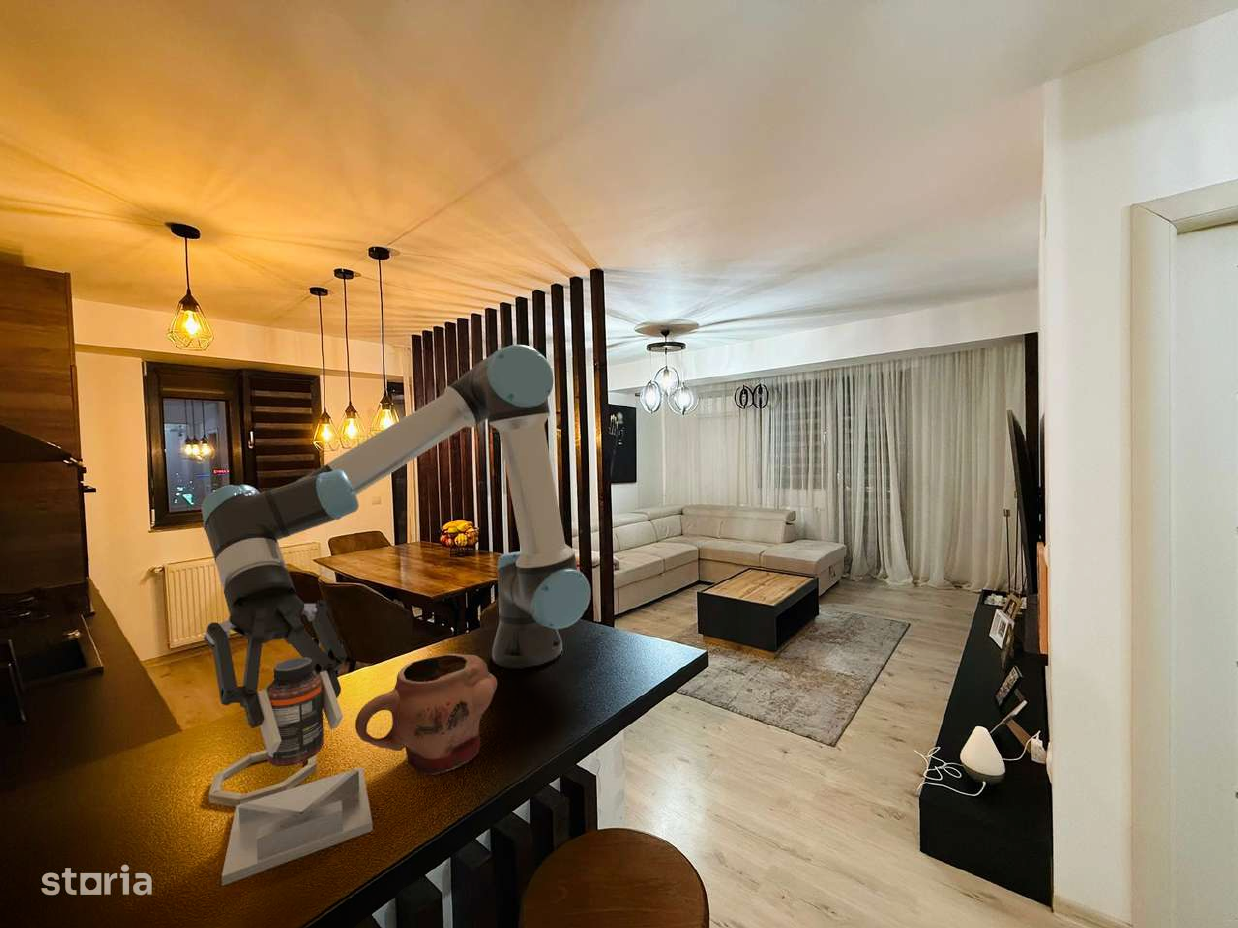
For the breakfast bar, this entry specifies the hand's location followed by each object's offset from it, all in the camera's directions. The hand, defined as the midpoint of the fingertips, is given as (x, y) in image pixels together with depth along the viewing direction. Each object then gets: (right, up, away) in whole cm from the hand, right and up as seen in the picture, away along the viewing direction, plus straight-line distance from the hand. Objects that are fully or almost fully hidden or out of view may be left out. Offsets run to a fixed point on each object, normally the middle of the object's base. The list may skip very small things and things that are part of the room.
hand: (307, 734), depth 60 cm
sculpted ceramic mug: (+10, -11, +13) cm, 20 cm away
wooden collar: (-12, -11, +11) cm, 20 cm away
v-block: (-2, -11, +2) cm, 11 cm away
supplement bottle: (-3, -4, +2) cm, 5 cm away
